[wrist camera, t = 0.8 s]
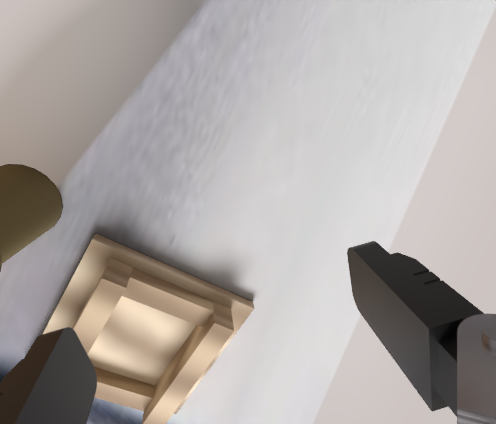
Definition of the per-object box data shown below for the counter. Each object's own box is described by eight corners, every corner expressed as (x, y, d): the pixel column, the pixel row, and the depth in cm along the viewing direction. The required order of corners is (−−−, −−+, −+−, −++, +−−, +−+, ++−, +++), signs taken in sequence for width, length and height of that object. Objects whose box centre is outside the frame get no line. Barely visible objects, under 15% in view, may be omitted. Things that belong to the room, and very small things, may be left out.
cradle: (95, 233, 29) (81, 257, 26) (252, 301, 35) (259, 330, 31) (28, 361, 34) (7, 398, 30) (176, 405, 39) (174, 441, 35)
